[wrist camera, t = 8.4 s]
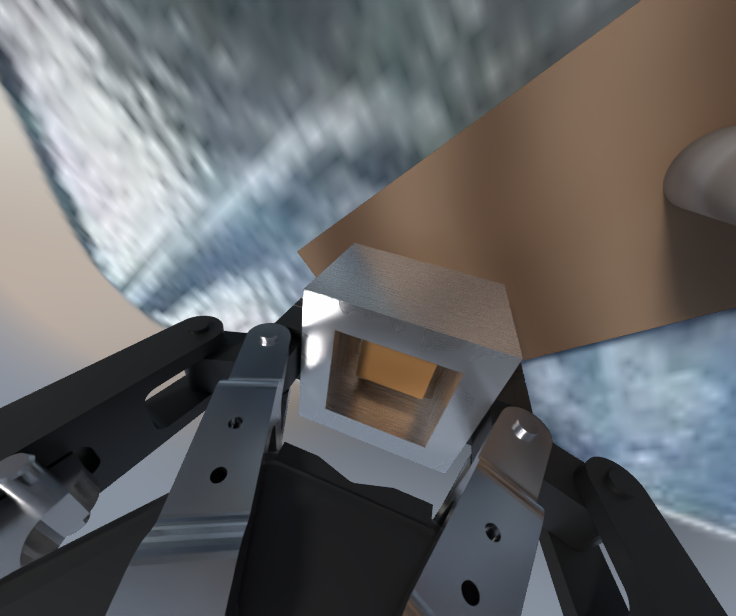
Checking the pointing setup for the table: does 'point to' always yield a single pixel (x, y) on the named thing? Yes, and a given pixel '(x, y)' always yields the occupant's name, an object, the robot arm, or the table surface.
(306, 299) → the collar
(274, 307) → the table surface
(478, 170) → the stand board
